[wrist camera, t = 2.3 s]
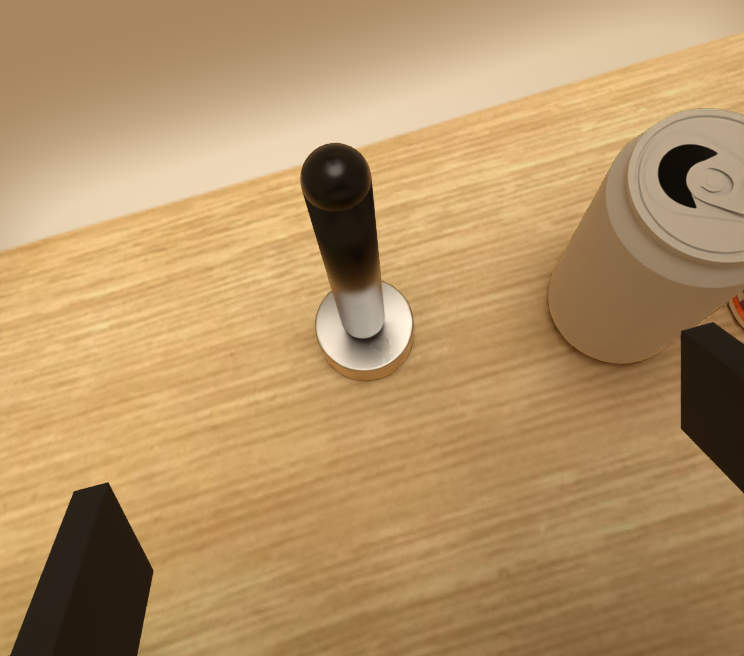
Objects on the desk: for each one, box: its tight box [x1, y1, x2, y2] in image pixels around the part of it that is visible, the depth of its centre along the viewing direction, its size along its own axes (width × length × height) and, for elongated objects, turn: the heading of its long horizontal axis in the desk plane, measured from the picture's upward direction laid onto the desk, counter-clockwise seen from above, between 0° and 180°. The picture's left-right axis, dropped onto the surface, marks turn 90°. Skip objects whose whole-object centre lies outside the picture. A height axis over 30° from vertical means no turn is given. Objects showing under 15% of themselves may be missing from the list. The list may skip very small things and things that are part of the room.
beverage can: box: [548, 108, 744, 364], centre depth 27 cm, size 6×6×12 cm
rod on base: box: [300, 143, 413, 381], centre depth 26 cm, size 5×5×16 cm
